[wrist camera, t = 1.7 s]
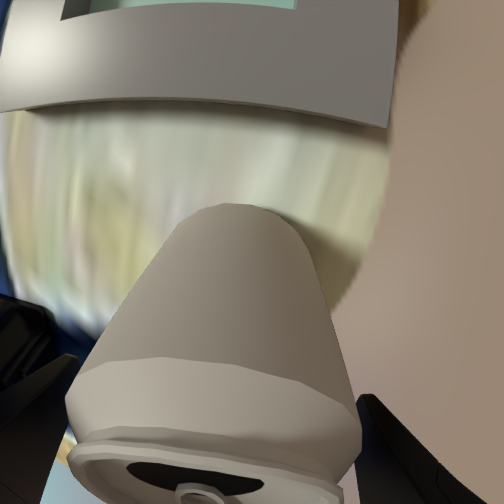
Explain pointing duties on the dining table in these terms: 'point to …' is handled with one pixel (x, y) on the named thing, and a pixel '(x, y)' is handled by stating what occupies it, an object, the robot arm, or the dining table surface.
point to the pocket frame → (204, 54)
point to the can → (218, 375)
